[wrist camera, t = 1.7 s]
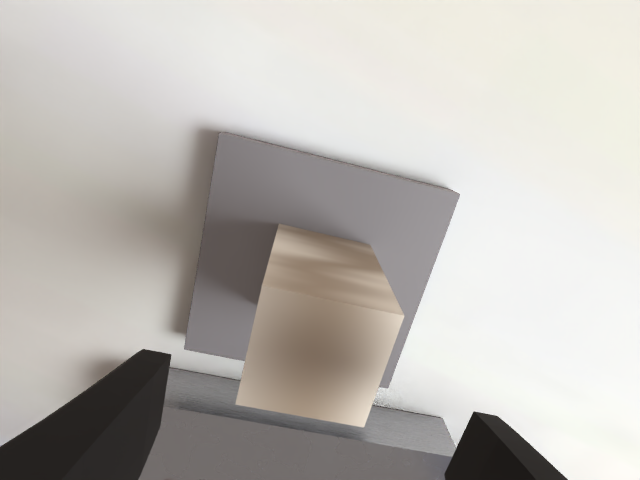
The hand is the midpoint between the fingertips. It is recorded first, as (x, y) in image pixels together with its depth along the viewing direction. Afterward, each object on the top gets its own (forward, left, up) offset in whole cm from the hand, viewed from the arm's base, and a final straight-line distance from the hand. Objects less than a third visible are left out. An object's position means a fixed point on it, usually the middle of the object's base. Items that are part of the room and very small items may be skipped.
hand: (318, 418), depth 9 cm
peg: (0, 0, -8) cm, 8 cm away
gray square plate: (0, 0, -9) cm, 9 cm away
